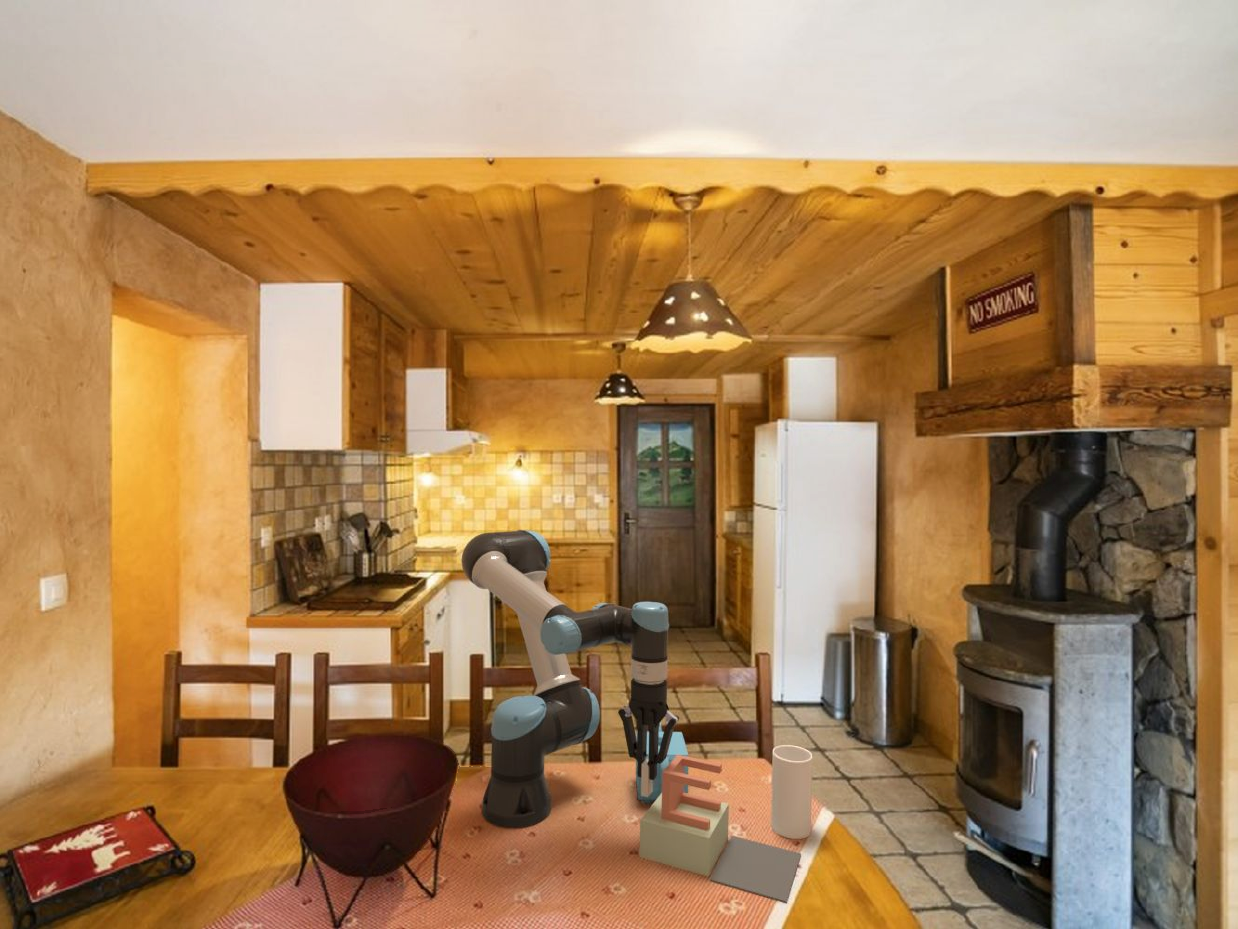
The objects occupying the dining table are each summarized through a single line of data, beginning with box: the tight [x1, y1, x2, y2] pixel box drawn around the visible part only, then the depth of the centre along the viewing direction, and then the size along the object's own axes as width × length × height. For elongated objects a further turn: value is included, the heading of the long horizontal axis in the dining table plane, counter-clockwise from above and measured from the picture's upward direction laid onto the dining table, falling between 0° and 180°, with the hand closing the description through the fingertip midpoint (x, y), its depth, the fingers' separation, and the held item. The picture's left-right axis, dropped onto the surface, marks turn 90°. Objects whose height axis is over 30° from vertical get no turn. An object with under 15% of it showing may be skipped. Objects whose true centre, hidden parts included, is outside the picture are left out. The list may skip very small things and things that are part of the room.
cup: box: [770, 744, 813, 840], centre depth 139 cm, size 8×8×16 cm
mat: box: [709, 835, 802, 904], centre depth 125 cm, size 14×16×1 cm
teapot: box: [635, 722, 690, 804], centre depth 154 cm, size 22×11×14 cm, turn 1°
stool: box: [661, 755, 723, 830], centre depth 130 cm, size 10×9×9 cm
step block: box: [638, 793, 730, 878], centre depth 131 cm, size 14×14×7 cm
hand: (646, 793), depth 134 cm, fingers closed
